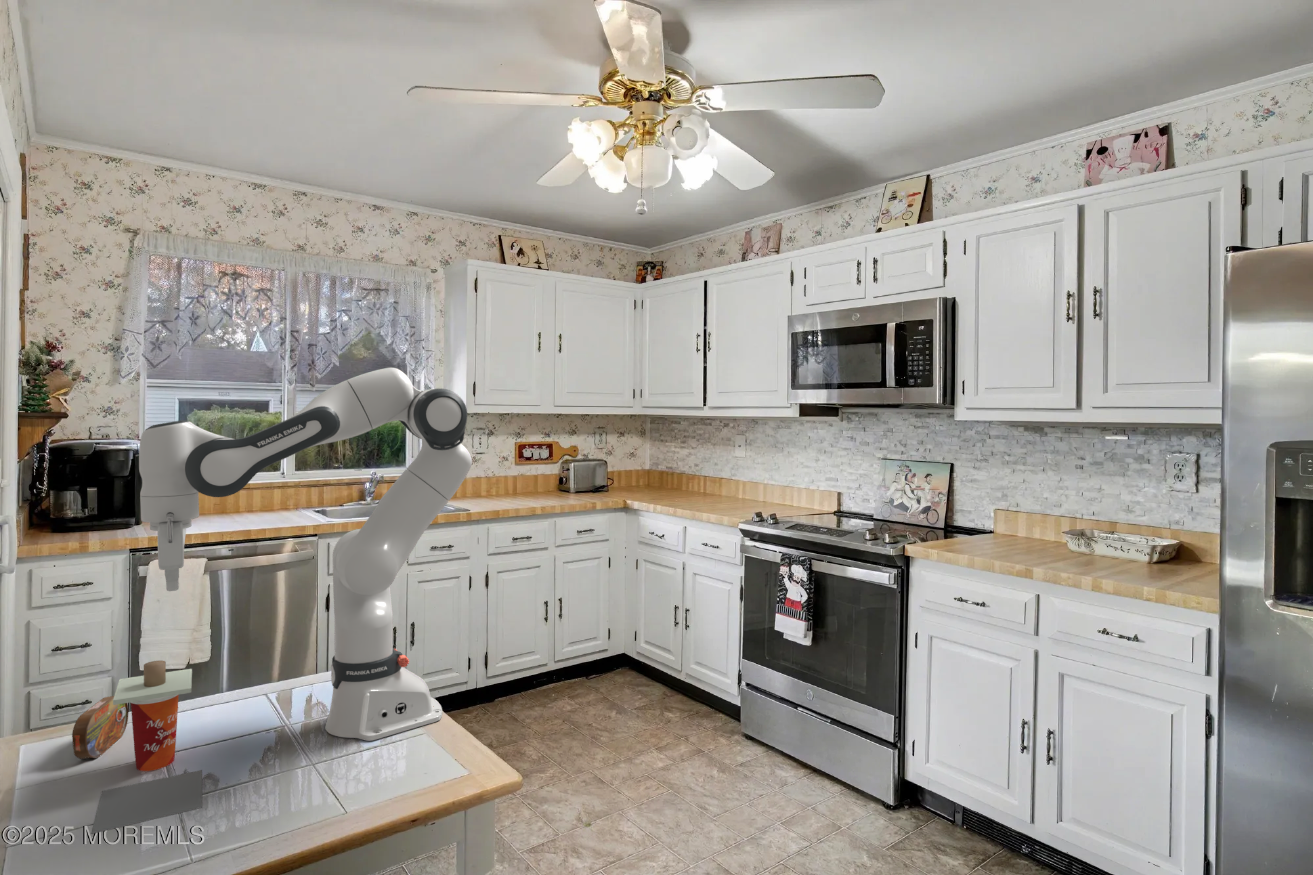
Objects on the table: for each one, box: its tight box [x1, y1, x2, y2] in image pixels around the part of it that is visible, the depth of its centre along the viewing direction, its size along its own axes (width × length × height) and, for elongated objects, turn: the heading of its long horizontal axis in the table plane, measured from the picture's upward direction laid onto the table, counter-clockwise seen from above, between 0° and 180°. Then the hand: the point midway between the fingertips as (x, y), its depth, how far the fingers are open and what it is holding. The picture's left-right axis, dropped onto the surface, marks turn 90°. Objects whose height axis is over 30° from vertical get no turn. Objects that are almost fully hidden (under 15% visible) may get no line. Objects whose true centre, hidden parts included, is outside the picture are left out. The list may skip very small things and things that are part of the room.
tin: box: [71, 695, 129, 760], centre depth 135 cm, size 15×3×8 cm, turn 13°
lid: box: [113, 660, 193, 705], centre depth 128 cm, size 11×11×4 cm
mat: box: [90, 769, 203, 835], centre depth 117 cm, size 14×14×1 cm
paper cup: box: [129, 694, 180, 772], centre depth 129 cm, size 8×8×14 cm
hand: (173, 584), depth 132 cm, fingers open, 8 cm apart
